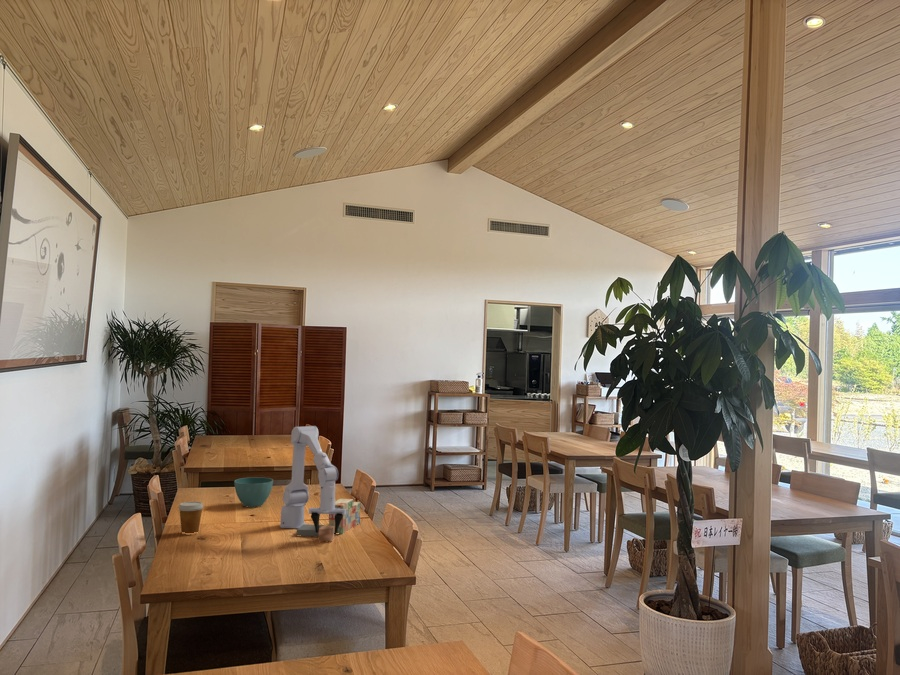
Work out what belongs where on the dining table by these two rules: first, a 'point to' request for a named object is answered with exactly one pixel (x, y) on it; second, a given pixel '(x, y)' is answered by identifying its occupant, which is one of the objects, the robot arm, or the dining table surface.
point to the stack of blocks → (346, 515)
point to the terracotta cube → (326, 533)
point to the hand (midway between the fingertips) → (326, 532)
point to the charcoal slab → (308, 530)
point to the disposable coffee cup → (190, 516)
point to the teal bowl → (253, 490)
